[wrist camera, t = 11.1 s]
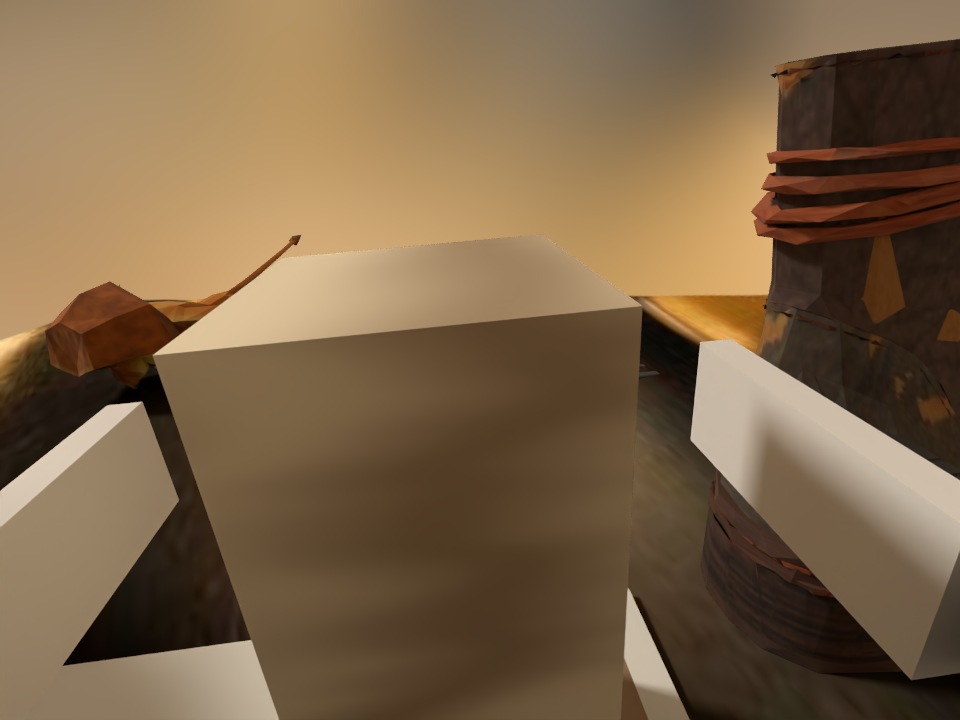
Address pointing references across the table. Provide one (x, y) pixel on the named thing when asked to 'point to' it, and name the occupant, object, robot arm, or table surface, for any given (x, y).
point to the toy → (125, 328)
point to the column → (421, 477)
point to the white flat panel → (260, 684)
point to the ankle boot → (851, 309)
